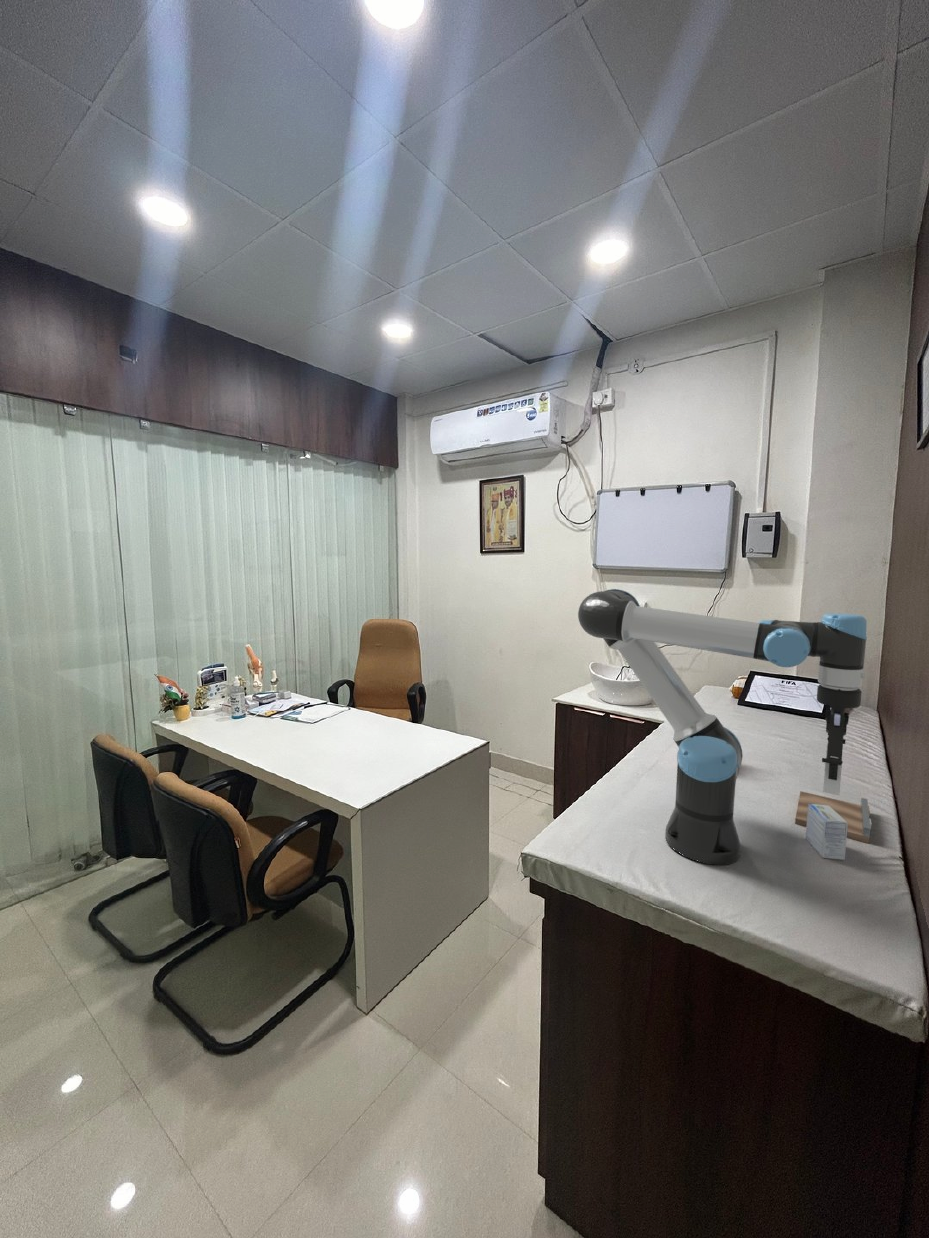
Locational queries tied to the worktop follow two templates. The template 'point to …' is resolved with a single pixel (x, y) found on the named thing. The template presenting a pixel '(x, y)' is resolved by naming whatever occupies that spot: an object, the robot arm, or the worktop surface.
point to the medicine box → (826, 831)
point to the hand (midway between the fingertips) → (831, 781)
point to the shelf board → (848, 811)
